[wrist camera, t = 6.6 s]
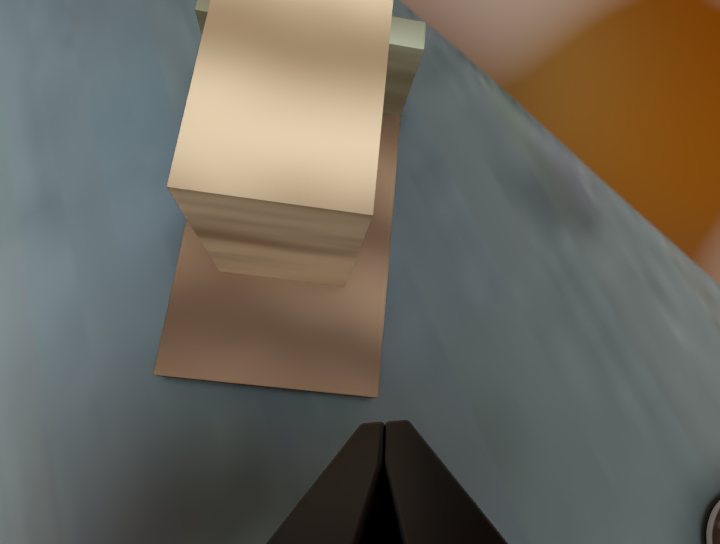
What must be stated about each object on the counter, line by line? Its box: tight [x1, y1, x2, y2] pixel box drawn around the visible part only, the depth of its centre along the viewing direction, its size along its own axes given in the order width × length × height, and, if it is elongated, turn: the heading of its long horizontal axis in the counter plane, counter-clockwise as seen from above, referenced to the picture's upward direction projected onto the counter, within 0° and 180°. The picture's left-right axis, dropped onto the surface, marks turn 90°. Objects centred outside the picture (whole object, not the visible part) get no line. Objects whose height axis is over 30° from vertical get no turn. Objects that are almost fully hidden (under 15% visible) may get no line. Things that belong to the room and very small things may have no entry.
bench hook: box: [153, 0, 426, 398], centre depth 21 cm, size 16×10×6 cm, turn 174°
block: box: [167, 0, 393, 287], centre depth 19 cm, size 10×6×9 cm, turn 174°
